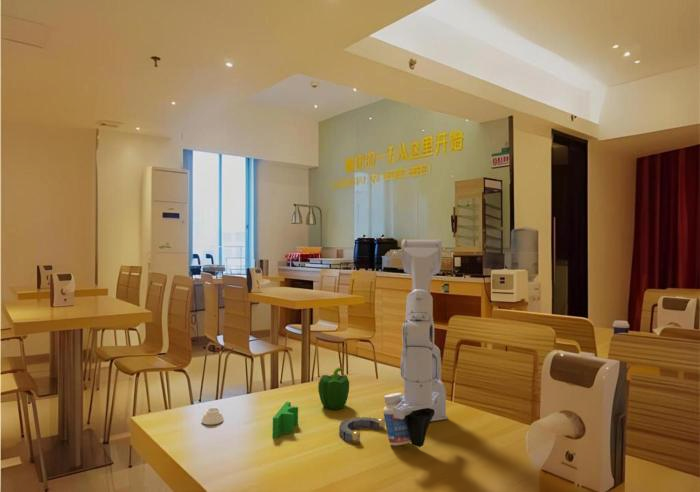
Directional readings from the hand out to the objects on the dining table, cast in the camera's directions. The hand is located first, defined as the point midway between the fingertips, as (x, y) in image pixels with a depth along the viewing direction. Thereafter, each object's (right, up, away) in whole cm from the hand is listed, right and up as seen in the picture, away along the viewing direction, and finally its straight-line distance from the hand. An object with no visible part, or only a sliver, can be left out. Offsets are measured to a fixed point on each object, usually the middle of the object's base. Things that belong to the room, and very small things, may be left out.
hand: (417, 444), depth 95 cm
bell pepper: (-18, -2, +26) cm, 32 cm away
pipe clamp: (-28, -1, +11) cm, 31 cm away
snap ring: (-12, -1, +9) cm, 15 cm away
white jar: (-47, -1, +15) cm, 49 cm away
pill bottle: (-3, -1, +2) cm, 4 cm away
